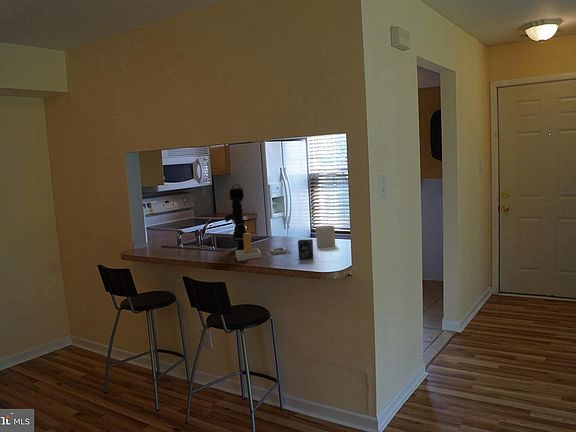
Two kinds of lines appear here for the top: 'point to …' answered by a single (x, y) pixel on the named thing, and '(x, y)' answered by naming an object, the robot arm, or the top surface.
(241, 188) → the robot arm
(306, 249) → the box
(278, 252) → the socket mount
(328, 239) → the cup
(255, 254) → the bin
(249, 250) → the strut
